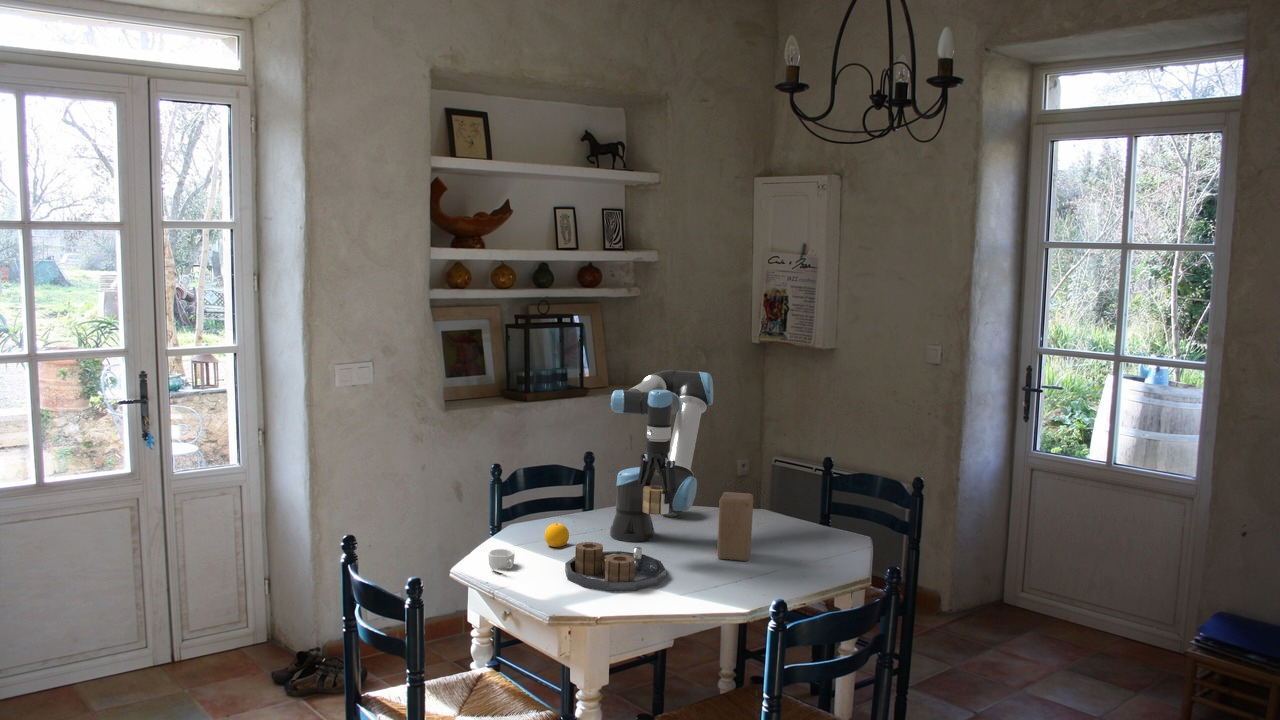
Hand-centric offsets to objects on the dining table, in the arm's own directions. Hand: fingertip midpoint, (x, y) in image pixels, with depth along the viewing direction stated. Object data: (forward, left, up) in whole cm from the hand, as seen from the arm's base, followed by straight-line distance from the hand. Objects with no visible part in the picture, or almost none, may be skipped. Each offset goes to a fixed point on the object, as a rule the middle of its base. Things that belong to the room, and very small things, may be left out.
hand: (655, 510), depth 310 cm
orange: (-29, -17, -16) cm, 37 cm away
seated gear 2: (+16, -27, -14) cm, 34 cm away
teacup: (-17, -45, -16) cm, 51 cm away
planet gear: (0, 0, 0) cm, 0 cm away
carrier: (+8, -22, -16) cm, 29 cm away
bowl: (-37, +40, -16) cm, 56 cm away
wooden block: (+12, +24, -16) cm, 31 cm away
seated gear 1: (+1, -27, -14) cm, 30 cm away
